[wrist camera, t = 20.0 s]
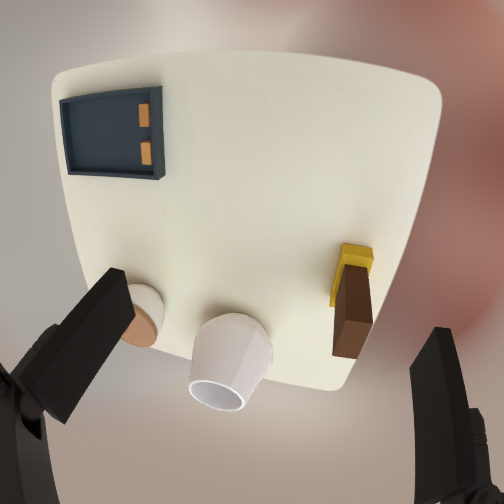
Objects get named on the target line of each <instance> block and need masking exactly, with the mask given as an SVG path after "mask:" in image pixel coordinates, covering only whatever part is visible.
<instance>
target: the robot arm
mask: <svg viewBox="0 0 504 504" xmlns="http://www.w3.org/2000/svg"><path fill="white" fill-rule="evenodd" d="M135 316H136V314H135V310H134V307H133V303H132V299H131V296H130V292H129V288H128V284H127V280H126V276H125V272H124V271H123V270H119V269H115V268H110V269H109V270H108V271H107V272H106V273H105V274H104V275H103V276H102V277H101V278H100V279H99V280H98V282H97V283H96V284H95V285H94V286H93V287H92V288H91V289H90V290H89V291H88V293H87V294H86V295H85V296H84V297H83V298H82V299H81V300H80V302H79V303H78V304H77V305H76V306H75V307H74V309H73V310H72V311H71V312H70V313H69V314H68V315H67V317H66V318H65V319H64V320H63V321H62V323H61V324H60V325H57V324H54V325H52V326H50V327H49V328H47V329H46V330H45V331H44V332H43V333H42V334H41V336H40V337H39V338H38V341H36V342H35V343H34V344H33V345H32V348H30V349H29V350H28V352H27V353H26V354H25V356H24V357H23V358H22V359H21V361H20V362H19V363H18V365H17V366H16V367H15V368H14V370H13V371H12V372H11V373H10V374H9V373H8V372H7V371H6V370H5V368H4V367H3V366H2V364H1V363H0V504H60V503H59V499H58V495H57V491H56V486H55V482H54V477H53V472H52V467H51V461H50V455H49V449H48V442H47V434H46V426H45V418H44V414H43V411H44V410H46V411H47V412H48V413H49V414H50V415H51V416H52V417H53V418H55V419H56V420H58V421H60V422H61V423H63V424H65V423H66V422H67V420H68V418H69V417H70V415H71V413H72V412H73V410H74V408H75V407H76V405H77V404H78V402H79V400H80V399H81V397H82V396H83V394H84V393H85V391H86V389H87V388H88V386H89V385H90V383H91V382H92V380H93V378H94V377H95V375H96V374H97V372H98V371H99V369H100V368H101V366H102V365H103V363H104V362H105V360H106V359H107V357H108V356H109V354H110V353H111V351H112V350H113V348H114V347H115V345H116V344H117V342H118V341H119V340H120V338H121V337H122V335H123V334H124V332H125V331H126V329H127V328H128V326H129V325H130V324H131V322H132V321H133V319H134V318H135ZM409 369H410V378H411V387H412V399H413V411H414V426H415V427H414V429H415V498H414V504H435V503H438V502H440V504H504V493H502V492H500V490H499V489H498V487H497V486H495V485H493V484H492V482H491V476H490V463H489V453H488V445H487V444H486V442H487V438H486V434H485V432H486V431H485V425H484V419H483V417H482V415H481V413H480V412H479V410H478V408H469V406H468V401H467V395H466V390H465V385H464V381H463V376H462V372H461V368H460V363H459V359H458V355H457V351H456V348H455V344H454V340H453V337H452V333H451V330H450V328H441V327H434V329H433V331H432V333H431V334H430V336H429V338H428V339H427V341H426V343H425V344H424V346H423V348H422V349H421V351H420V352H419V354H418V356H417V357H416V359H415V360H414V362H413V364H412V365H411V366H410V368H409Z"/></svg>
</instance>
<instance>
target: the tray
mask: <svg viewBox="0 0 504 504" xmlns="http://www.w3.org/2000/svg"><path fill="white" fill-rule="evenodd" d="M149 102H150V117H151V126H149V127H140V121H139V104H142V103H149ZM59 104H60V116H61V126H62V135H63V143H64V151H65V158H66V164H67V170H68V175H87V176H107V177H123V178H137V179H150V180H159V179H160V178H162V177H163V176H165V161H164V141H163V112H162V86H156V87H143V88H133V89H123V90H115V91H107V92H100V93H93V94H87V95H81V96H76V97H70V98H66V99H62V100H59ZM145 140H152V155H153V164H151V165H147V164H142V154H141V142H143V141H145Z"/></svg>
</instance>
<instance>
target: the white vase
mask: <svg viewBox="0 0 504 504" xmlns="http://www.w3.org/2000/svg"><path fill="white" fill-rule="evenodd" d="M272 361H273V346H272V344H271V342H270V340H269V338H268V336H267V334H266V332H265V330H264V328H263V326H262V325H261V324H260V323H259V322H258V321H256V320H255V319H254V318H252V317H250V316H247V315H245V314H241V313H235V312H233V313H226V314H223V315H220V316H218V317H216V318H213V319H211V320H209V321H208V322H206V323H205V324H203V325H202V326H201V327H200V328H199V330H198V332H197V335H196V337H195V341H194V348H193V355H192V362H191V369H190V376H189V384H188V388H189V391H190V393H191V394H192V396H194V398H195V399H196V400H198V401H200V402H201V403H203V404H204V405H206V406H209V407H211V408H214V409H218V410H222V411H236V410H240V409H242V408H243V407H244V406H245V404H246V403H247V401H248V400H249V398H250V397H251V395H252V394H253V392H254V390H255V389H256V387H257V386H258V384H259V383H260V381H261V379H262V378H263V376H264V375H265V373H266V371H267V370H268V368H269V367H270V365H271V363H272Z"/></svg>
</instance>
